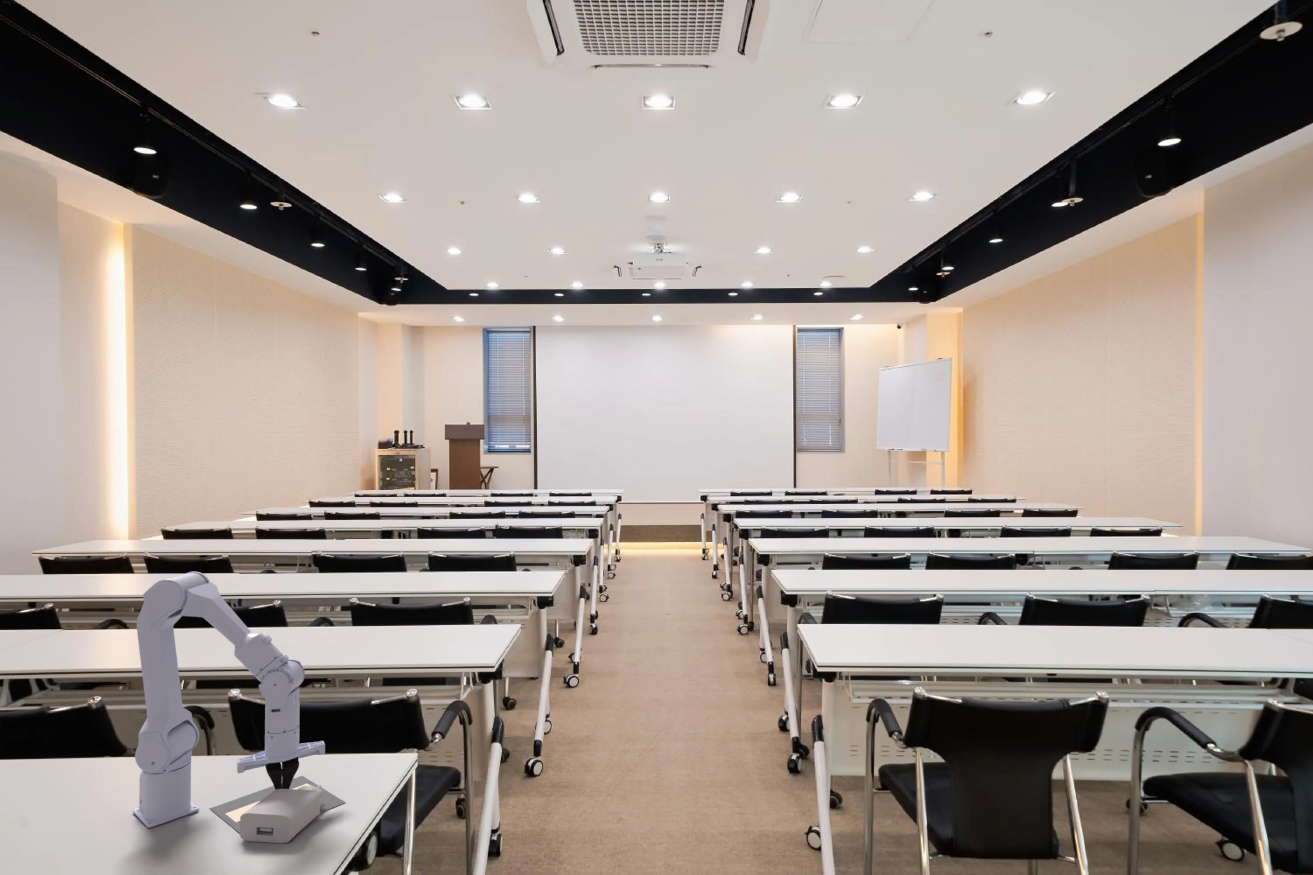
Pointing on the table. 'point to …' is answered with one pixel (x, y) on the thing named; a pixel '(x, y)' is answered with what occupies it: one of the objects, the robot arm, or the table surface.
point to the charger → (281, 815)
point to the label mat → (241, 805)
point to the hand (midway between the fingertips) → (281, 800)
